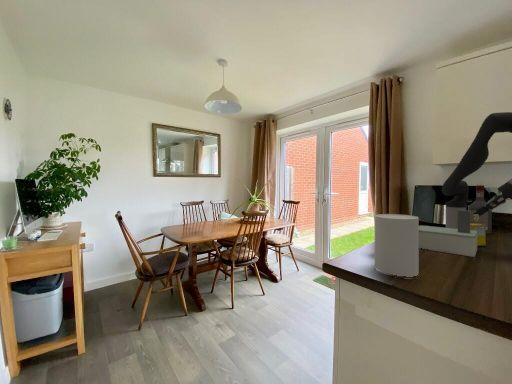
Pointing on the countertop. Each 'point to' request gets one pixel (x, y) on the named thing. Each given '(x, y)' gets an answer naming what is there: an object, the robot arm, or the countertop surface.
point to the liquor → (474, 217)
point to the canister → (397, 244)
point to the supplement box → (479, 233)
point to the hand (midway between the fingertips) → (478, 213)
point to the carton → (448, 243)
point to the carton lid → (462, 228)
